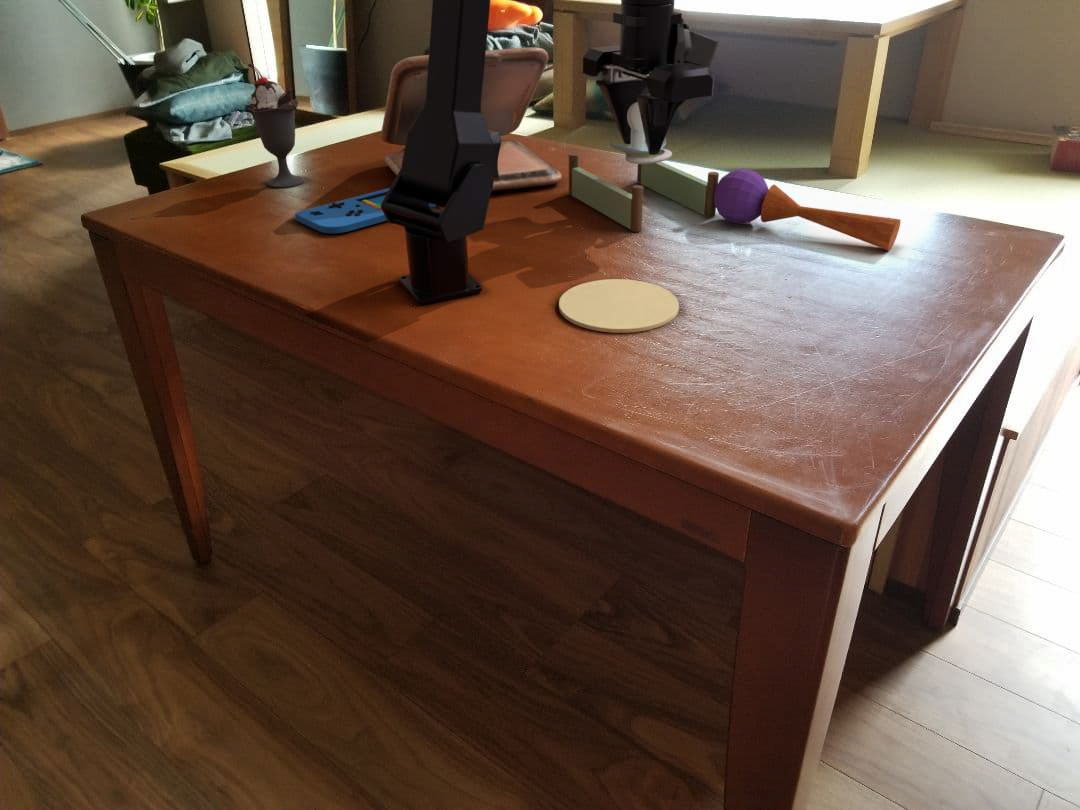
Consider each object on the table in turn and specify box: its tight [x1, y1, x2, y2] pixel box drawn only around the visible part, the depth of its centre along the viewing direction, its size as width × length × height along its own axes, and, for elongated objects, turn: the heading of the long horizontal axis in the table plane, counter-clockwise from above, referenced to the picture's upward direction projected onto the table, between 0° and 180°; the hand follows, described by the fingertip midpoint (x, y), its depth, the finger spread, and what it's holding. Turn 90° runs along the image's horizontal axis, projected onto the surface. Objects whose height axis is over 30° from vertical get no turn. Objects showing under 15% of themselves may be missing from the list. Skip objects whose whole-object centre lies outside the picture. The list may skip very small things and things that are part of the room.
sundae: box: [244, 62, 306, 189], centre depth 112 cm, size 7×7×15 cm
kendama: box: [714, 168, 901, 252], centre depth 94 cm, size 6×6×20 cm
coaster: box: [558, 278, 680, 334], centre depth 80 cm, size 11×11×1 cm
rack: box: [568, 152, 720, 233], centre depth 103 cm, size 16×11×5 cm
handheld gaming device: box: [294, 187, 437, 234], centre depth 103 cm, size 8×1×15 cm
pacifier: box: [609, 102, 673, 165], centre depth 100 cm, size 7×6×6 cm
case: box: [380, 46, 563, 192], centre depth 113 cm, size 20×21×16 cm
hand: (641, 148), depth 101 cm, fingers closed on pacifier, 5 cm apart
